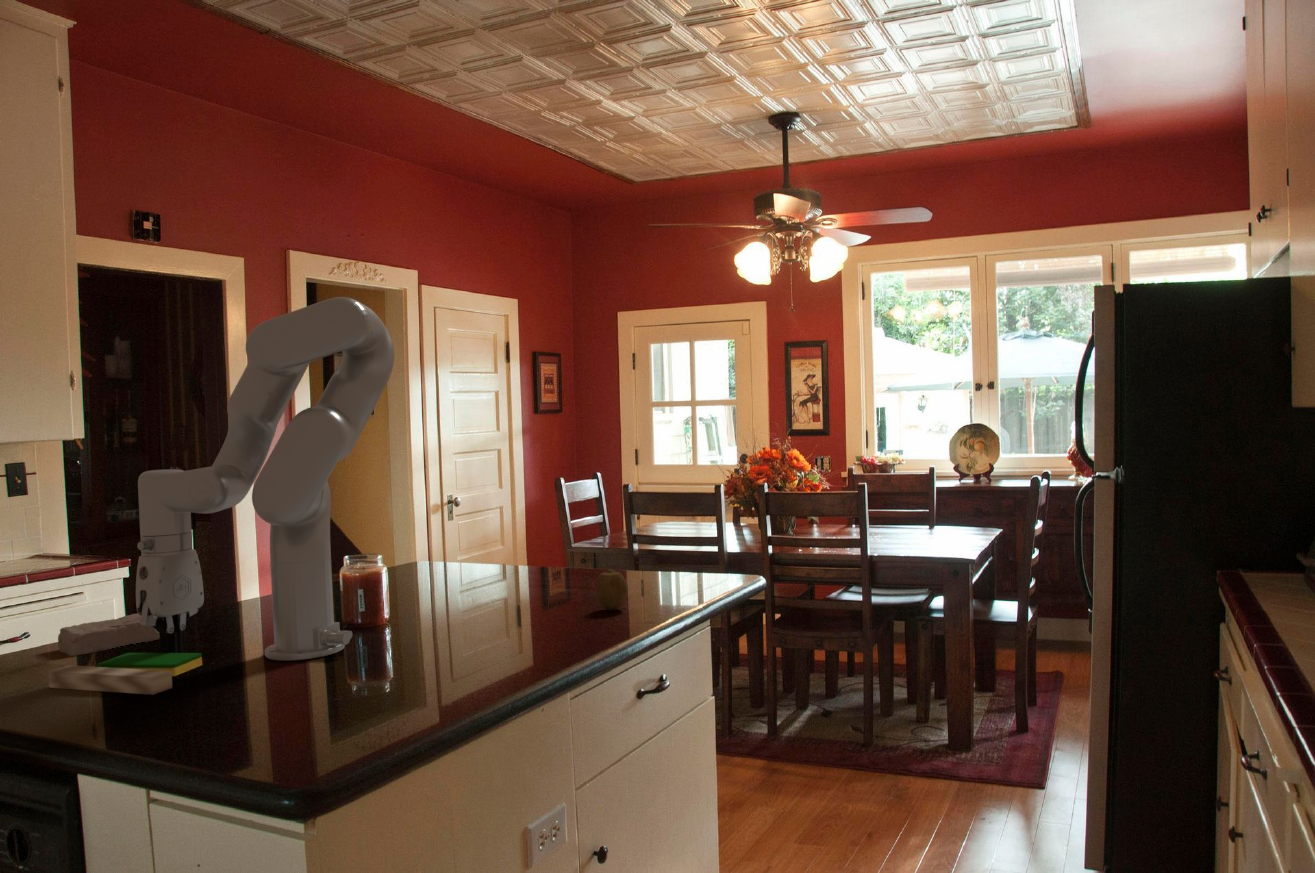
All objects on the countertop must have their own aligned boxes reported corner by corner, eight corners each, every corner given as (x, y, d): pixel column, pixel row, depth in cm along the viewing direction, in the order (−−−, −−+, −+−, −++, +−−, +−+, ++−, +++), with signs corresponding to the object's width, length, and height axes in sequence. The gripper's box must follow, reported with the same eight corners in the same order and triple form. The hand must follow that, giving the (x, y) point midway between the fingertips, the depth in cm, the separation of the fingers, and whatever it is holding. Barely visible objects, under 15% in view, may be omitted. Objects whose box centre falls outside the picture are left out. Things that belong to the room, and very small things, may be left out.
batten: (172, 687, 143) (171, 670, 143) (153, 694, 140) (152, 677, 140) (70, 681, 150) (69, 665, 150) (49, 687, 146) (48, 671, 146)
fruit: (628, 606, 190) (626, 565, 190) (628, 612, 184) (626, 570, 184) (596, 607, 190) (594, 567, 190) (595, 614, 184) (593, 572, 184)
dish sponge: (128, 666, 160) (127, 652, 160) (203, 667, 157) (202, 652, 157) (96, 678, 153) (95, 663, 153) (174, 679, 150) (173, 664, 150)
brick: (73, 658, 167) (71, 630, 167) (56, 651, 172) (55, 625, 172) (172, 639, 179) (171, 614, 179) (154, 634, 185) (153, 609, 185)
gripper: (146, 551, 151) (152, 668, 152) (219, 538, 165) (224, 645, 166) (110, 550, 154) (115, 665, 154) (184, 538, 168) (189, 643, 168)
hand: (171, 655), depth 160 cm, fingers closed
